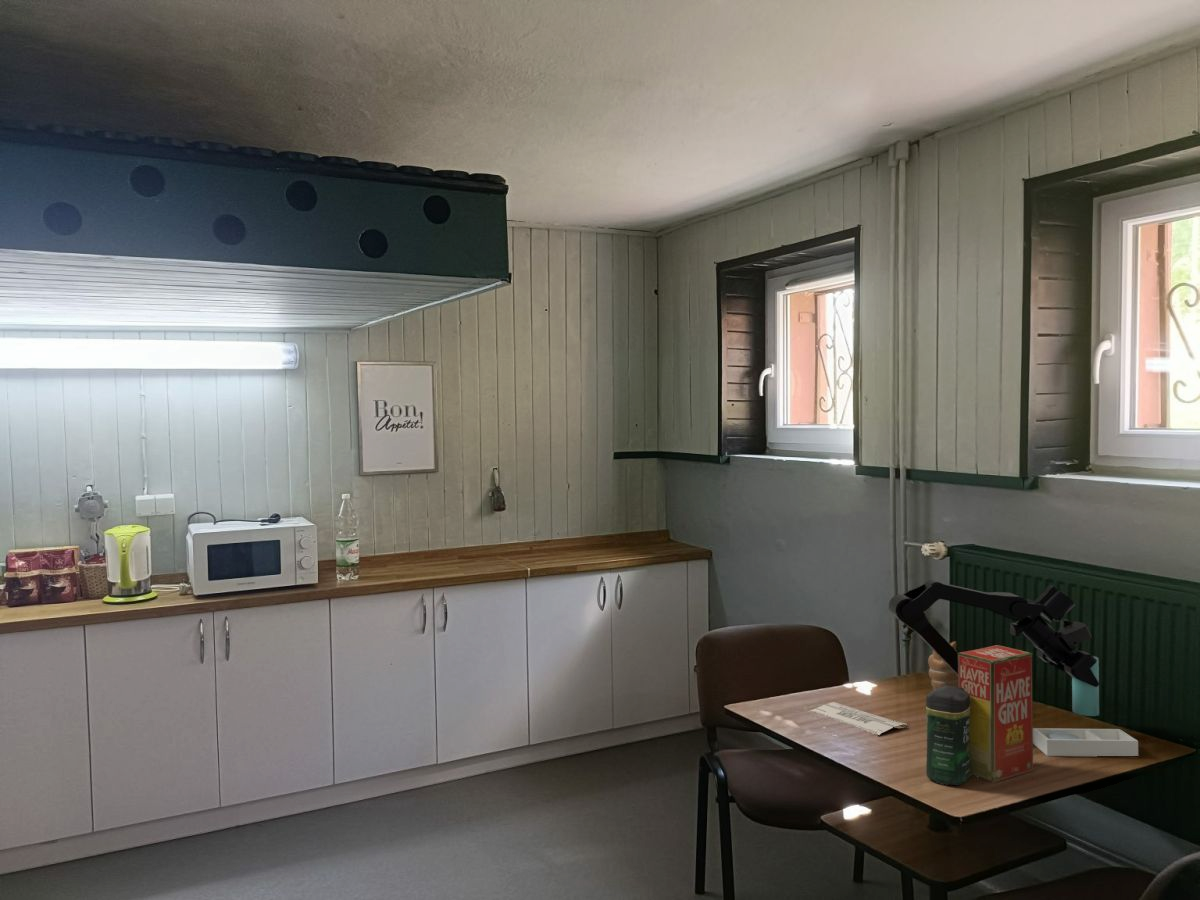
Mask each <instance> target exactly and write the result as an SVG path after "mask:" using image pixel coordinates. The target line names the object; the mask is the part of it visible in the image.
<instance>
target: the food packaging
mask: <svg viewBox="0 0 1200 900" xmlns="http://www.w3.org/2000/svg"><path fill="white" fill-rule="evenodd" d="M958 687H960V688H963V689H964V690H965V691H966V692H967V693H968V694H969V695H970V726H969V727H970V762H971V775H972V776H974V777H977V776H978V777H977V778H981V779H983V780H985V781H988V782H991V783H993V782H995V783H998V782H1001V781H1003V780H1007V779H1011V778H1014V777H1017V776H1020V775H1023V774H1027V773H1030V772H1033V771H1034V744H1033V728H1034V727H1033V719H1034V718H1033V717H1034V716H1033V713H1034V710H1033V707H1034V706H1033V705H1034V704H1033V703H1034V701H1033V653H1032V652H1030V651H1025V650H1021V649H1017V648H1012V647H1007V646H1004V645H999V644H996V645H992V646H987V647H981V648H978V649H973V650H968V651H963V652H962V651H961V652H958Z"/></svg>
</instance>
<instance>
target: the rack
mask: <svg viewBox="0 0 1200 900" xmlns="http://www.w3.org/2000/svg"><path fill="white" fill-rule="evenodd" d="M1033 746H1036V748H1037V749H1038V750H1039V751H1040V752H1042V753H1043V754H1045V756H1047V757H1097V756H1138V757H1139V740H1137V739H1136V738H1134V737H1133V736H1131V735H1130V734H1128V733H1126V732H1125V731H1123V730H1122V729H1120V728H1059V727H1058V728H1056V727H1055V728H1052V727H1051V728H1047V727H1045V728H1044V727H1039V728H1038V727H1033Z"/></svg>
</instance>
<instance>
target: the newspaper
mask: <svg viewBox="0 0 1200 900" xmlns="http://www.w3.org/2000/svg"><path fill="white" fill-rule="evenodd" d="M810 711H813V712H816V713H818V714H822V715H825V716H828V717H831V718H833V719H834V720H837V721H840V722H843V723H847V724H850V725H853V726H855V727H858V728H861V729H862V730H866V731H867V732H871V733H872V734H878V735H879V736H880V735H881V734H882V733H885V732H888V731H889V730H891V729H894V728H893V727H896V726H899V725H900V726H901V727H905V728H907V724H908V723H905V722H900V721H897V720H894V719H890V718H887V717H883V716H880V715H876V714H873V713H870V712H868V711H863V710H860V709H857V708H854V707H851V706H847V705H844V704H842V703H838V702H835V701H832V702H828V703H826V704H823V705H820V706H819V707H816V708H814V709H812V710H810ZM893 720H894V721H893ZM896 721H897V722H896Z"/></svg>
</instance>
